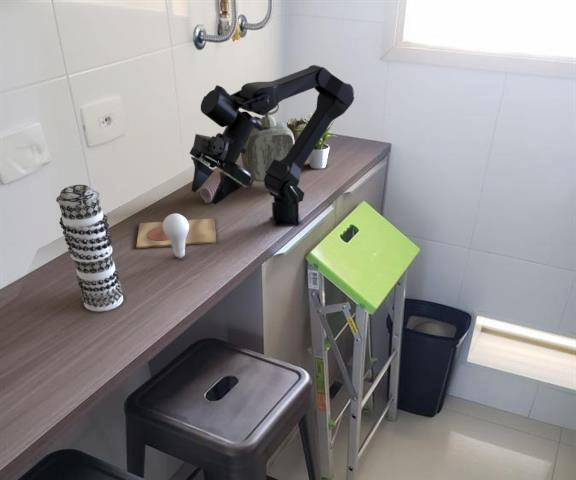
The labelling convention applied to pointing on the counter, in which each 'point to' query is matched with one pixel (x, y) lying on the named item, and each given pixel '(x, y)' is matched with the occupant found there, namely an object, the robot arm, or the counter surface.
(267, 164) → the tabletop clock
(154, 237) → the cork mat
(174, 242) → the lightbulb
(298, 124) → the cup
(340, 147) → the counter surface
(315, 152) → the house plant
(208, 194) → the coil
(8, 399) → the counter surface
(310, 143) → the robot arm
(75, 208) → the white patterned tall cylinder
